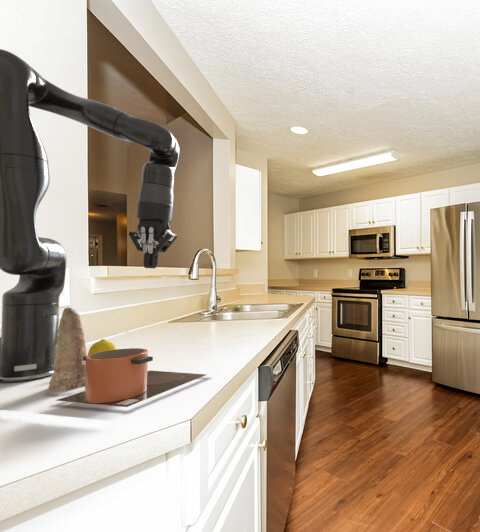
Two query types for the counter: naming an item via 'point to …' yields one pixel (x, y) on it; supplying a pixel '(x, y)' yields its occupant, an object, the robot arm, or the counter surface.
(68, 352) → the tapered standing stone
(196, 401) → the counter surface
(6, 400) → the counter surface
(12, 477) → the counter surface
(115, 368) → the pot
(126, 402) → the hob
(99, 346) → the lemon
